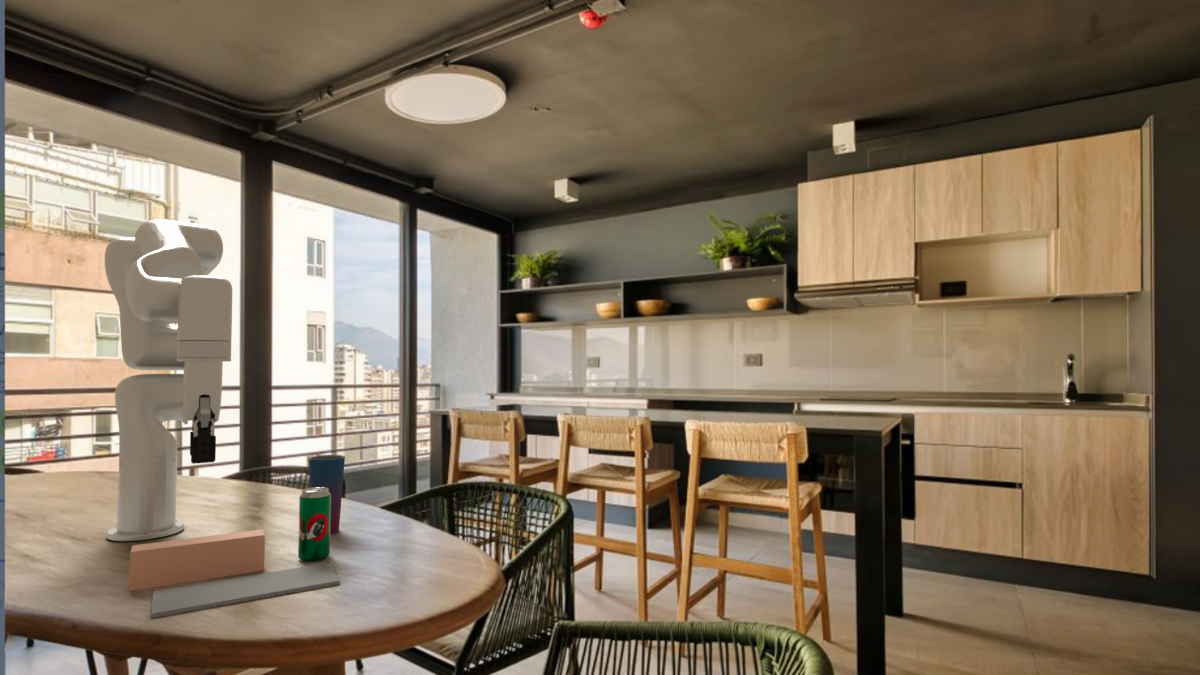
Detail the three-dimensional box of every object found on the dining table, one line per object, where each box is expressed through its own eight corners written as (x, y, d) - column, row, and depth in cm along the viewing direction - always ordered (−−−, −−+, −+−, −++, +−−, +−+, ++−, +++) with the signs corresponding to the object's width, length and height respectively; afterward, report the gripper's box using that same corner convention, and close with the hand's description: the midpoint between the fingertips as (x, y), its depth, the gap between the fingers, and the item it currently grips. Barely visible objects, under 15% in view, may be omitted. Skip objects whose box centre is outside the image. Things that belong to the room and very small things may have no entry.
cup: (333, 525, 134) (334, 453, 134) (350, 531, 129) (351, 457, 130) (300, 532, 128) (302, 457, 129) (317, 538, 124) (318, 461, 125)
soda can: (336, 555, 114) (337, 487, 114) (316, 564, 109) (317, 493, 109) (312, 552, 115) (313, 485, 116) (291, 561, 110) (292, 491, 111)
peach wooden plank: (131, 584, 100) (132, 545, 100) (261, 564, 109) (262, 529, 109) (129, 592, 96) (130, 552, 96) (263, 571, 106) (264, 534, 106)
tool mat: (153, 595, 94) (153, 591, 94) (326, 566, 108) (327, 563, 108) (151, 618, 86) (151, 613, 86) (339, 584, 99) (339, 580, 99)
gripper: (176, 353, 109) (174, 454, 108) (176, 351, 95) (174, 468, 94) (227, 353, 113) (225, 451, 112) (235, 351, 99) (232, 463, 98)
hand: (202, 458), depth 103 cm, fingers open, 9 cm apart
